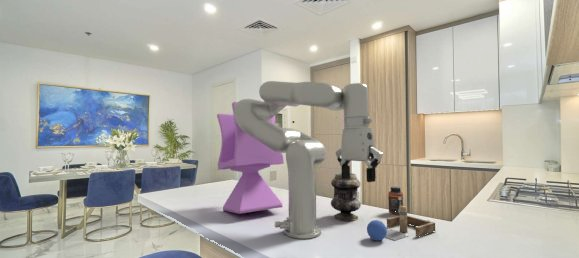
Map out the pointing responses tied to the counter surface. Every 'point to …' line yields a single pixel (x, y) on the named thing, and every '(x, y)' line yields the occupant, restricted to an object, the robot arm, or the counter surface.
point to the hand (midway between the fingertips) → (357, 179)
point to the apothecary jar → (345, 197)
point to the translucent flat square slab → (394, 235)
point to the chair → (246, 167)
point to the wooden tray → (422, 225)
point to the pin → (403, 218)
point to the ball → (376, 230)
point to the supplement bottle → (395, 200)
